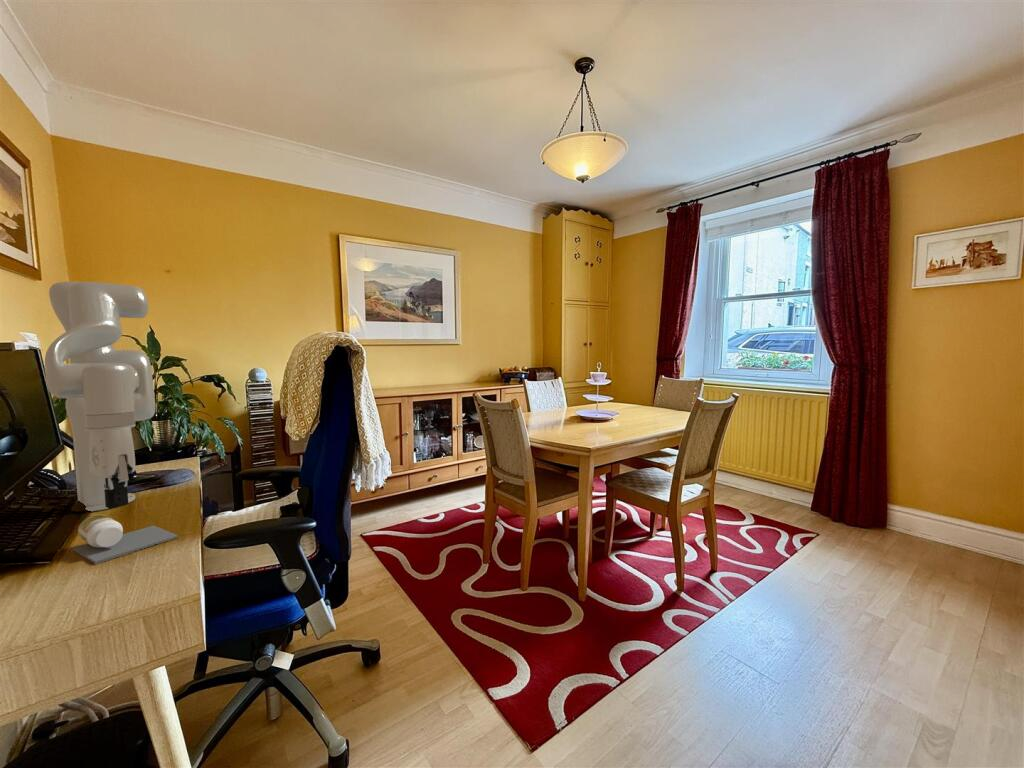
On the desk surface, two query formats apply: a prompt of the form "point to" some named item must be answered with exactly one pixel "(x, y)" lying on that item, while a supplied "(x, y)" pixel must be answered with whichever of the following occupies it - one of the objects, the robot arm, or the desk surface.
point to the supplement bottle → (100, 531)
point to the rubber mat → (126, 544)
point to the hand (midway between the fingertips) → (117, 506)
